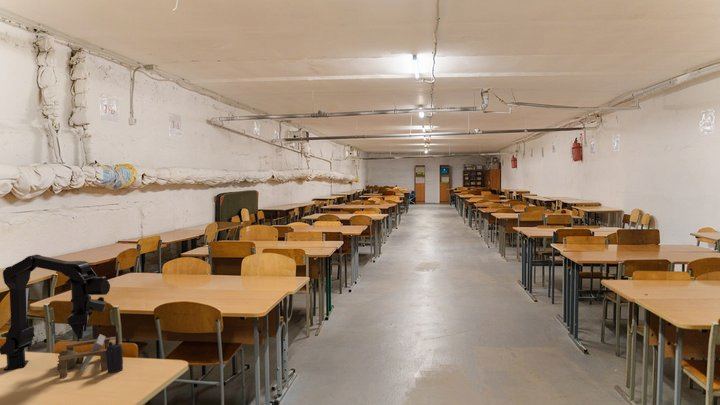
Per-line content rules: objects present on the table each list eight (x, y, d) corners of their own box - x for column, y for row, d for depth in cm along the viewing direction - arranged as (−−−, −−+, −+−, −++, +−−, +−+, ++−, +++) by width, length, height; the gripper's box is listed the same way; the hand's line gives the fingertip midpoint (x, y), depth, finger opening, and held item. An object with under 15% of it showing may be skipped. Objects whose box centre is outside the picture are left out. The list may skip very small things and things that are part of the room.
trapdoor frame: (68, 362, 176) (67, 343, 176) (117, 354, 183) (116, 336, 183) (60, 378, 162) (58, 357, 161) (113, 369, 169) (112, 349, 168)
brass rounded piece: (81, 357, 168) (56, 358, 165) (80, 373, 170) (55, 374, 167) (85, 345, 174) (61, 345, 171) (84, 361, 176) (60, 361, 173)
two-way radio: (123, 367, 170) (121, 329, 169) (124, 371, 166) (122, 332, 165) (106, 371, 167) (104, 332, 166) (107, 375, 163) (105, 335, 162)
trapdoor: (88, 361, 177) (82, 358, 176) (105, 336, 179) (100, 333, 178) (83, 371, 167) (77, 369, 166) (102, 345, 169) (96, 342, 168)
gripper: (101, 297, 165) (103, 339, 166) (107, 287, 182) (108, 324, 183) (66, 301, 160) (68, 344, 161) (75, 290, 178) (77, 328, 178)
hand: (82, 334), depth 171 cm, fingers open, 9 cm apart
